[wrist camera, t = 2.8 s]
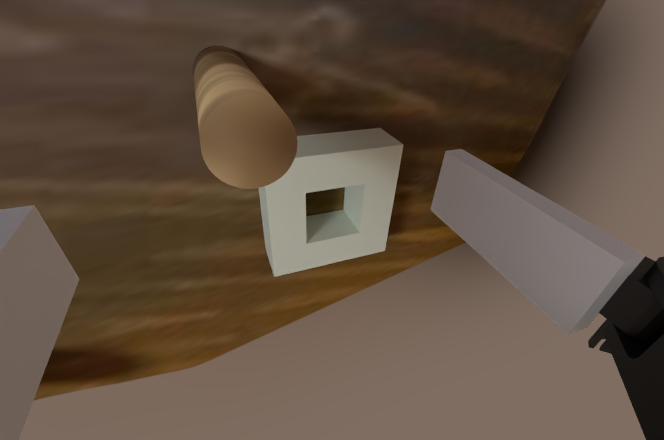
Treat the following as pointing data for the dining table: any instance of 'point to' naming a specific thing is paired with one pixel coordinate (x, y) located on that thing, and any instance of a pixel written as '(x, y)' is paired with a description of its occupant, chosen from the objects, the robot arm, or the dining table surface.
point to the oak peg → (240, 122)
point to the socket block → (323, 174)
